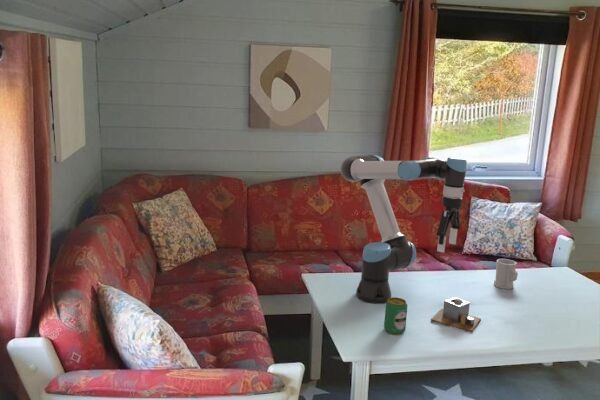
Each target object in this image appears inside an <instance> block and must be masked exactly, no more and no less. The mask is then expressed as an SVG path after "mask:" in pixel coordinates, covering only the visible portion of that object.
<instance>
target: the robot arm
mask: <svg viewBox="0 0 600 400" xmlns="http://www.w3.org/2000/svg"><path fill="white" fill-rule="evenodd" d="M467 161H468V160H467V159H466V158H464V157H459V156H449V157H447V159H446V160H444V159H439V158H435V157H428V156H426V157H424V158H423V159H416V160H384V158H382V157H381V156H379V155H376V154H366V155H353V156H350V157H347V158H346V159H344V160H343V161H342V163H341V166H340V173H341V176H342V177H343V178H344V179H345V180H346V181H348V182H351V183H358V182H359V185H360V188H361V189H363V190H365V192H366V195H367V198H368V201H369V204H370V207H371V210H372V212H373V215H374V218H375V221H376V224H377V225H376V226H377V228H378V230H379V233H380V236H381V241H378V242H376V241H375V242H370V243H368V244H366V245H365V246H364V247H363V251H362V256H361V257H362V258H361V259H362V261H361V275H360V276H361V277H360V278H361V279H360V281H359V284H358V286H357V288H356V292H355V297H356V298H357V299H358V300H360V301H362V302H365V303H370V304H386V302H387V301H388V299H389V298H392V291H391V287H390V282H389V278H390V277H389V275H390V272H394V271H398V270H403V269H406V268H409V267H411V266H412V265H413V264H414V263H415V261H416V258H417V249H416V246H415V245H414V244H413V243H412V241H410V240H407V237H406V235H405V234H403V233H402V232H401V230H400V227H399V225H398V221H397V218H396V216H395V213H394V210H393V207H392V205H391V201H390V198H389V196H388V193H387V190H386V187H385V181H386V180H403V181H410V182H411V181H416V180H423V179H424V180H425V179H432V178H434V179H435V178H436V179H441V180H444V183H443V191H442V195H443V196H442V201H441V205H442V206H443V207H445V210H442V212H441V216H440V221H439V225H438V228H437V232H436V236H438V241H437V247H436V252H439V253H445V249H446V242H447V241H446V240H447V236H446V235H447V233H448V232H447V231H448V229H449V228H450V227H449V226H450V225H451V228H450V230H449V238H448V244H451V245H457V237H458V230H460V228H461V219H460V209H461V207H462V205H463V196H464V193H465V187H464V186H465V181H466V180H465V179H466V174H467V173H466V172H467Z"/></svg>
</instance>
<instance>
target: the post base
mask: <svg viewBox="0 0 600 400" xmlns="http://www.w3.org/2000/svg"><path fill="white" fill-rule="evenodd" d="M462 300H463V299H462ZM462 300H461V298H459V299H454V303H456V304H458V305H459V304H461V303H462ZM468 316H469V317H471V318H474V325H471V326H470V325H468V324H465V317H466V316H465V315H461V322H460V323H455V322H453V321H451V320H448V319H446V318H444V317H443V308H440V309H439V310H438V311H437V313H436V314H435V315H434V316H433V317H432V318H431V319H430V322H432V323H435V324H439V325H442V326H446V327H451V328H453V329H458V330H461V331H465V332H469V333H473V331H475V329H476V328H477V326H478V325H479V324H480V322H481V321H482V318H481V317H478V316H472V315H469V314H468Z"/></svg>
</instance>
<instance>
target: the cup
mask: <svg viewBox="0 0 600 400" xmlns="http://www.w3.org/2000/svg"><path fill="white" fill-rule="evenodd" d="M517 264H518V263H517V262H516V261H515V260H511V259H507V258H498V259H496V265H495V266H496V269H495V280H493V281H494V282H493V285H494V287H497V288H499V289H503V290H511V289H513V288H514V286H515V284H514V282H515V281H517V278H518V276H519V275H518V271H517V270H516V268H517Z"/></svg>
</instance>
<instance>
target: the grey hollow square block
mask: <svg viewBox="0 0 600 400" xmlns="http://www.w3.org/2000/svg"><path fill="white" fill-rule="evenodd" d="M454 299H461V298H460V297H456V296H454V297H451V298H448V299H444V301H443V308H442V309H443V317H444V318H446V319H448V320H451V321H453V322H455V323H460V322H461V315H465V316H466V317H465V324H468V325H470V326H471V325H474V318H471V317H469V316H468V315H469V314H470V305H471V304H470V301H468V300H467V301H466V300H465V299H461V300H462V303H461V304H459V305H458V304H456V303H454Z"/></svg>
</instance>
